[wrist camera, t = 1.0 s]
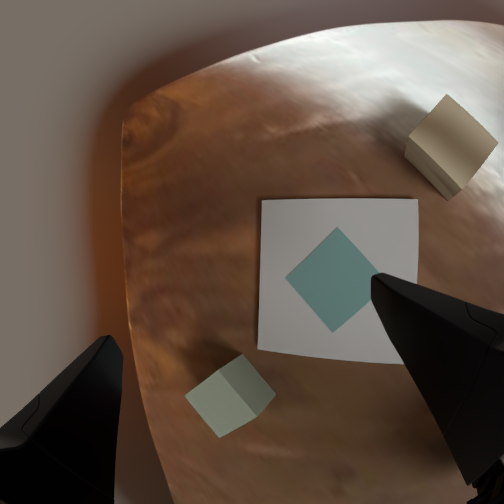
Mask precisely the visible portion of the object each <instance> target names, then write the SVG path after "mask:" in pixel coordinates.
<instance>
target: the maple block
mask: <svg viewBox="0 0 504 504" xmlns="http://www.w3.org/2000/svg"><path fill="white" fill-rule="evenodd" d="M497 144H498V142H497V141H496V140H495V139H494V138H493V136H492V135H491V134H490V133H489V132H488V131H487V130H486V129H485V128H484V127H483V126H482V125H481V124H480V123H479V122H478V121H477V120H476V119H475V118H473V117H472V116H471V115H470V114H469V113H468V112H467V111H466V110H465V109H464V108H463V107H461V106H460V105H459V104H458V103H457V102H456V101H455V100H453V99H452V98H451V97H450V96H449V95H447V94H446V95H445V96H444V97H443V99H442V100H441V101H440V102H439V103H438V104H437V105H436V106H435V107H434V109H433V110H432V111H431V112H430V113H429V114H428V115H427V116H426V117H425V119H424V120H423V121H422V122H421V123H420V124H419V125H418V126H417V127H416V128H415V129H414V131H413V132H412V133H411V134H410V135H409V136H408V140H407V145H406V150H405V154H404V157H405V158H406V159H407V160H408V161H409V162H410V163H412V164H413V165H414V166H415V167H416V168H417V169H418V170H419V171H420V172H421V173H422V174H423V175H424V176H425V177H426V178H427V179H428V180H429V181H430V182H431V183H432V184H433V185H434V186H435V188H436V189H437V190H438V191H439V192H440V193H441V194H442V195H443V196H444V197H445V198H446V199H447V200H448V201H449V200H450V199H451V198H452V197H454V196H455V195H456V194H457V193H459V192H460V191H461V190H462V189H463V188H464V187H465V186H466V184H467V183H468V182H469V181H470V179H471V178H472V177H473V176H474V174H475V173H476V172H477V171H478V169H479V168H480V167H481V166H482V164H483V163H484V162H485V160H486V159H487V158H488V156H489V155H490V154H491V152H492V151H493V150H494V148H495V147H496V146H497Z"/></svg>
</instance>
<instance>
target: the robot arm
mask: <svg viewBox="0 0 504 504" xmlns="http://www.w3.org/2000/svg"><path fill="white" fill-rule="evenodd" d="M371 301H372V303H373V306H374V308H375V310H376V312H377V314H378V316H379V318H380V320H381V322H382V325H383V327H384V329H385V331H386V333H387V335H388V337H389V339H390V341H391V342H392V344H393V346H394V347H395V349H396V351H397V352H398V354H399V356H400V357H401V359H402V361H403V363H404V364H405V366H406V368H407V369H408V371H409V373H410V375H411V376H412V378H413V380H414V382H415V383H416V385H417V387H418V389H419V391H420V392H421V394H422V396H423V398H424V400H425V401H426V403H427V405H428V407H429V409H430V411H431V413H432V415H433V416H434V418H435V420H436V422H437V424H438V426H439V428H440V430H441V432H442V434H443V435H444V438H445V440H446V442H447V444H448V446H449V448H450V450H451V452H452V454H453V457H454V459H455V461H456V463H457V465H458V467H459V469H460V472H461V474H462V476H463V478H464V480H465V483H466V484H467V486H468V485H470V484H471V483H472V486H473V488H477V493H478V496H476V497H475V498H473V499H471V500H469V501H468V502H467V504H504V314H502V313H499V312H495V311H492V310H488V309H485V308H482V307H479V306H477V305H474V304H471V303H468V302H465V301H463V300H460V299H457V298H454V297H452V296H449V295H446V294H443V293H440V292H438V291H435V290H432V289H429V288H426V287H423V286H421V285H418V284H415V283H412V282H409V281H406V280H403V279H400V278H398V277H395V276H392V275H389V274H386V273H378V274H375V275H372V277H371ZM122 373H123V354H122V352H121V350H120V348H119V347H118V345H117V343H116V342H115V340H114V338H113V337H112V336H110V335H107V336H101V337H100V338H98V339H97V340H96V341H95V342H94V343H93V344H92V345H90V346H89V347H88V348H87V349H86V350H85V351H84V352H83V353H82V354H81V355H79V357H77V358H76V359H75V360H74V361H73V362H72V363H71V364H70V365H69V366H68V367H66V369H64V370H63V371H62V372H61V373H60V374H59V375H58V376H57V377H56V378H55V379H54V380H53V381H52V382H51V383H50V384H48V385H47V386H46V387H45V388H44V389H43V390H42V391H41V392H40V394H38V395H37V396H36V397H35V398H34V399H33V400H31V401H30V402H29V403H28V404H27V405H26V406H25V407H24V408H23V409H22V410H21V411H19V412H18V413H17V414H16V415H15V416H14V417H12V418H11V419H10V420H9V421H8V422H7V423H6V424H4V425H3V426H2V427H1V428H0V504H114V482H115V460H116V445H117V433H118V423H119V414H120V405H121V396H122Z"/></svg>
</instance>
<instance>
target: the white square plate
mask: <svg viewBox="0 0 504 504" xmlns="http://www.w3.org/2000/svg"><path fill="white" fill-rule="evenodd" d="M417 271H418V199H375V198H336V199H286V200H262V218H261V257H260V292H259V324H258V349H260V350H266V351H272V352H279V353H286V354H293V355H301V356H309V357H317V358H326V359H336V360H347V361H358V362H372V363H388V364H404V363H403V361H402V359H401V357H400V356H399V354H398V352H397V351H396V349H395V347H394V346H393V344H392V342H391V341H390V339H389V337H388V335H387V333H386V331H385V329H384V327H383V325H382V322H381V320H380V318H379V316H378V314H377V312H376V310H375V308H374V306H373V303H372V301H371V277H372V275H375V274H378V273H386V274H389V275H392V276H395V277H398V278H400V279H403V280H406V281H409V282H412V283H415V284H417Z"/></svg>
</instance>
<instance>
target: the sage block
mask: <svg viewBox="0 0 504 504" xmlns="http://www.w3.org/2000/svg"><path fill="white" fill-rule="evenodd" d="M275 396H276V393H275V392H274V391H273V389H272V388H271V387H270V386H269V385H268V384H267V383H266V381H265V380H264V379H263V378H262V377H261V375H260V374H259V373H258V372H257V371H256V370H255V368H254V367H253V366H252V365H251V364H250V362H249V361H248V360H247V359H246V357H245V356H244V355H243V354H241V355H240V356H238V357H237V358H235V359H234V360H232V361H231V362H229V363H228V364H226V365H225V366H223V367H222V368H220V369H219V370H217V371H216V372H215V373H213V374H212V375H211V376H210V377H208V378H207V379H206V380H204V381H203V382H202V383H201V384H199V385H198V386H197V387H195V388H194V389H193V390H191V391H190V392H189V393H187V394H186V395H185V397H186V398H187V400H188V401H189V402H190V404H191V405H192V406H193V407H194V409H195V410H196V411H197V412H198V413H199V415H200V416H201V417H202V418H203V419H204V421H205V422H206V423H207V424H208V425H209V427H210V428H211V429H212V430H213V431H214V432H215V433H216V435H217V436H218V437H219V438H220V437H222V436H224V435H226V434H228V433H230V432H231V431H233V430H235V429H237V428H239V427H240V426H242V425H244V424H246V423H248V422H249V421H251V420H253V419H254V418H256V417H258V416H259V414H260V413H261V412H262V411H263V410H264V409H265V407H266V406H267V405H268V404H269V403H270V402H271V400H272V399H273V398H274V397H275Z"/></svg>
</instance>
